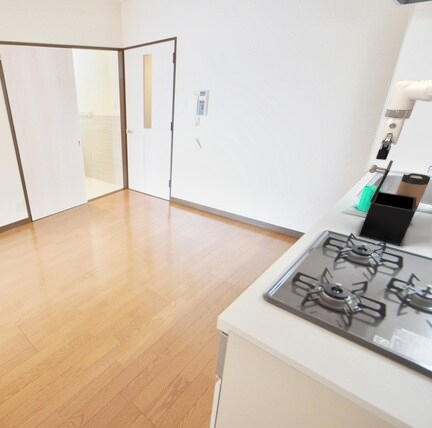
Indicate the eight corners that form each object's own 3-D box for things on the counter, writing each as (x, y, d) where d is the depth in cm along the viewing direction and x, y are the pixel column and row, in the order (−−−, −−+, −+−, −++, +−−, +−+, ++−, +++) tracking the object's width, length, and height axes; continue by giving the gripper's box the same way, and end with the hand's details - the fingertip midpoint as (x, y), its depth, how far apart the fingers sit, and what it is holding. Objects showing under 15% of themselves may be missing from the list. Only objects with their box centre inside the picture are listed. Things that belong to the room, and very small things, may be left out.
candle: (358, 205, 133) (366, 181, 128) (374, 208, 129) (384, 184, 124) (355, 209, 130) (364, 184, 125) (372, 212, 126) (382, 187, 121)
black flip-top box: (402, 229, 111) (416, 197, 105) (399, 246, 101) (415, 211, 95) (364, 221, 119) (376, 191, 113) (358, 235, 108) (370, 203, 103)
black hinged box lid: (393, 160, 107) (375, 157, 110) (389, 170, 96) (370, 166, 99) (377, 190, 113) (361, 186, 116) (372, 202, 102) (355, 198, 105)
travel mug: (410, 227, 112) (431, 180, 104) (384, 222, 117) (403, 176, 109) (409, 220, 117) (430, 175, 109) (385, 215, 122) (403, 172, 114)
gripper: (410, 117, 102) (392, 162, 110) (411, 112, 113) (395, 154, 121) (382, 116, 107) (367, 160, 115) (386, 111, 118) (372, 152, 125)
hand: (381, 157), depth 118 cm, fingers open, 9 cm apart
